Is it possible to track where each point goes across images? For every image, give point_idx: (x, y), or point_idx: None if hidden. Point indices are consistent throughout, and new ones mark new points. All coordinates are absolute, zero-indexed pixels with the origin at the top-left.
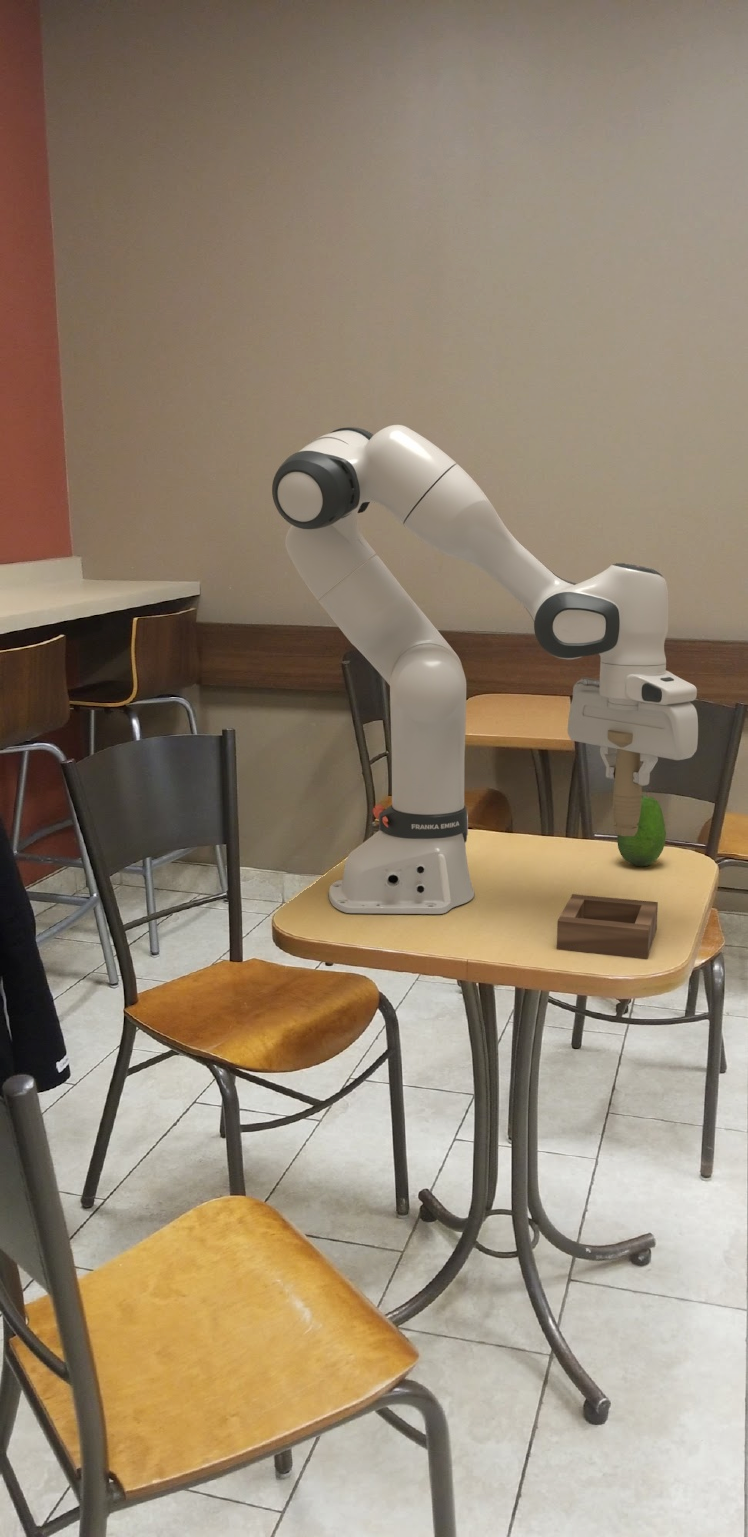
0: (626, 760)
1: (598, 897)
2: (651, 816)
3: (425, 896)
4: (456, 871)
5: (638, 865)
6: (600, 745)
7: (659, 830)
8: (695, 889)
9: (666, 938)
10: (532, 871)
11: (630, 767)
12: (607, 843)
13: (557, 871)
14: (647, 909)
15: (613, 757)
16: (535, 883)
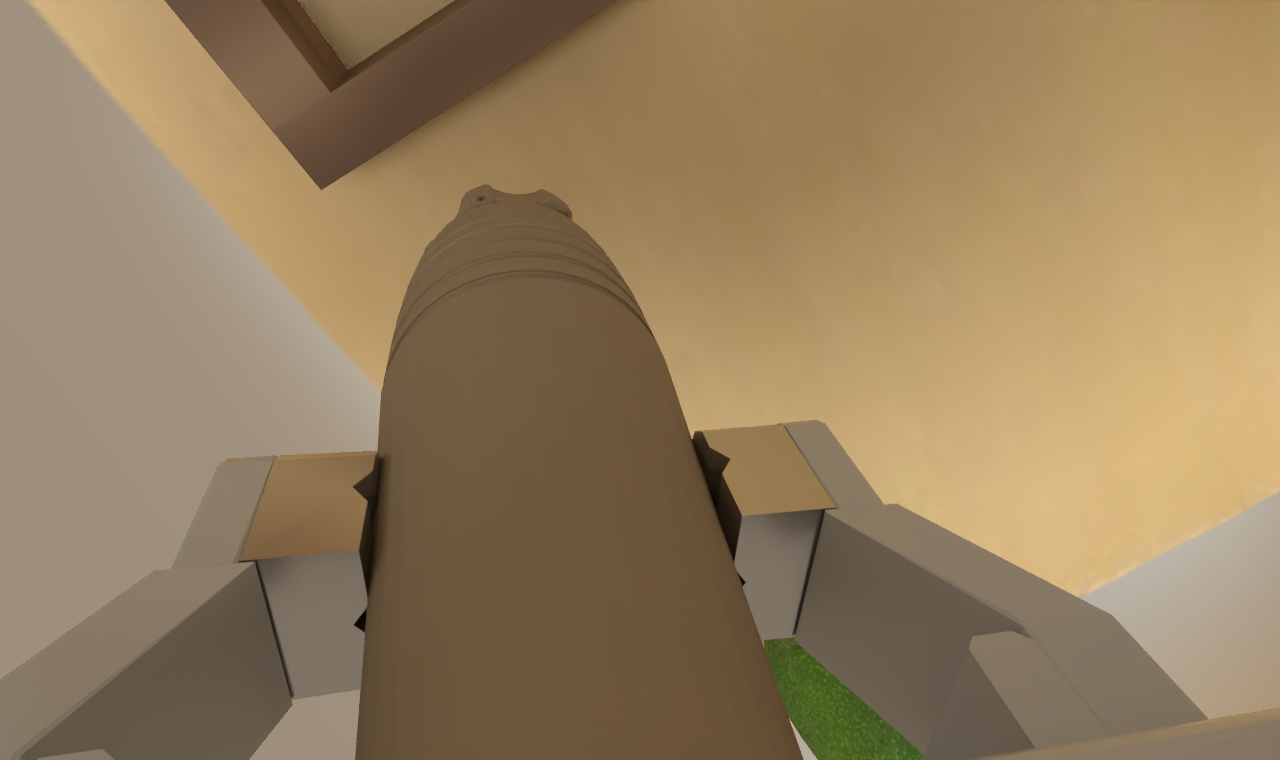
0: (459, 637)
1: (548, 24)
2: (835, 727)
3: None
4: None
5: None
6: (1224, 720)
7: (791, 699)
8: None
9: (226, 93)
10: (1050, 311)
11: (405, 579)
12: None
13: (980, 372)
14: (258, 56)
15: (897, 697)
16: (986, 222)
